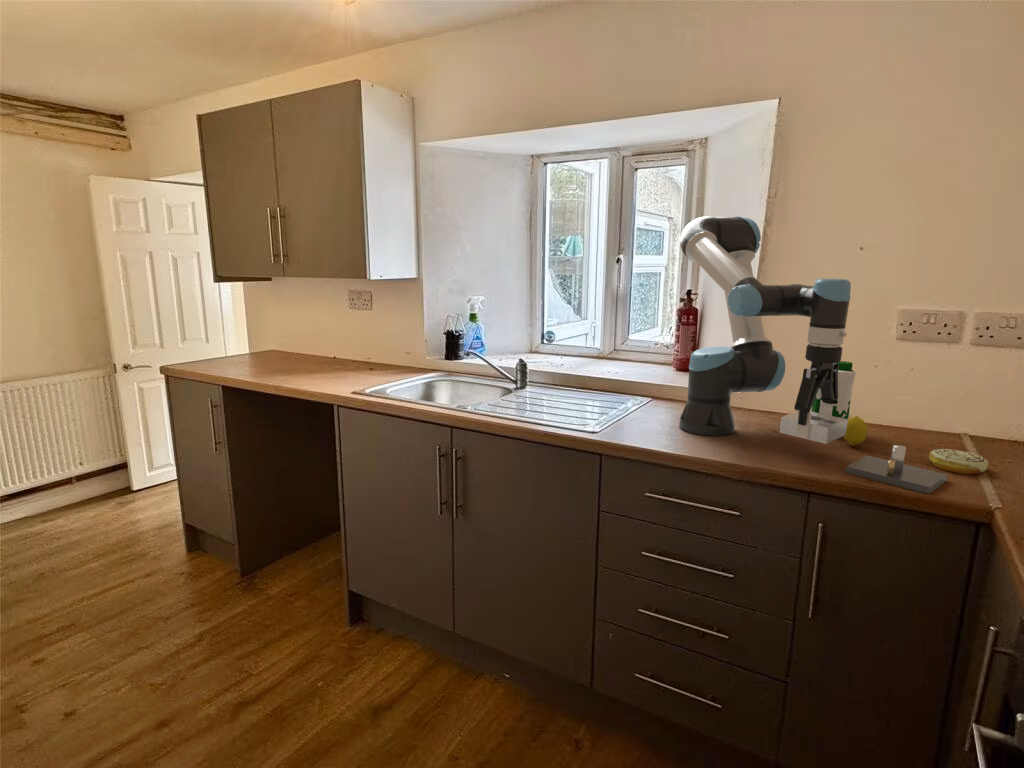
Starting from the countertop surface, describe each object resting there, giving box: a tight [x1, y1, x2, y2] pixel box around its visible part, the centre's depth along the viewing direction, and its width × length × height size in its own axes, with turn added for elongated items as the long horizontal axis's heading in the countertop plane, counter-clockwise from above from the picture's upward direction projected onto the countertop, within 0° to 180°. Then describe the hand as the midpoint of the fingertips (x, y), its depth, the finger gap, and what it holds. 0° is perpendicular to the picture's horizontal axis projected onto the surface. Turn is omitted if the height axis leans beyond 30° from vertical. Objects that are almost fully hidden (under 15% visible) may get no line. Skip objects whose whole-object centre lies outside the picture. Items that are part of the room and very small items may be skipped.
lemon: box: [842, 415, 868, 447], centre depth 147 cm, size 6×6×8 cm
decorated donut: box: [928, 448, 989, 475], centre depth 131 cm, size 10×11×4 cm
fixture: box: [844, 444, 948, 495], centre depth 125 cm, size 16×12×7 cm
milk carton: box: [810, 360, 856, 419], centre depth 159 cm, size 9×9×20 cm
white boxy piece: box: [779, 410, 849, 445], centre depth 139 cm, size 11×11×4 cm
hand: (812, 432), depth 139 cm, fingers closed on white boxy piece, 11 cm apart
